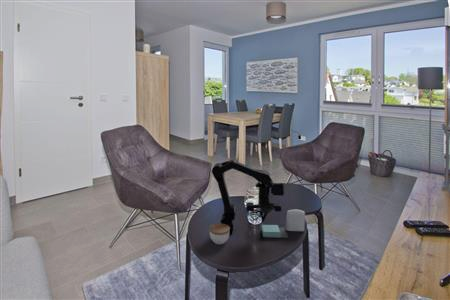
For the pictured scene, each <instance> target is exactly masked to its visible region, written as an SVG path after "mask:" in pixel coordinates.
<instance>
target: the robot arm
mask: <svg viewBox="0 0 450 300" xmlns="http://www.w3.org/2000/svg"><path fill="white" fill-rule="evenodd" d="M231 170H236V171H237V172H240V173H242V174H245V175H248V176H249V177H252V178H254V179H255V180H256V181H257V183H255V188H258V204H254V202H251V201H250V202H249V201H247V202H246V203H245V208H246V209H245V210H246V212H253V211H254V210H255V209H256V212H257V213H258V214H259V215H260V219H261V222H265V220H266V217H267V216H268V214H270V213H271V211H273V210H274V211H275V212H282V205H281V203H280V202H271V201H270V194H271V195H272V196H277V197H278V196H280V197H284V194H285V190H284V186H285V185H284V182H274V181H273V179H272V177H271V174H270V172H269V171H267V170H264V169H258V168H257V169H256V168H254V167H251V166H249V165H246V164H245V163H241V162H239V161H237V160H235V159H230V160H228V161H224V162H221V163H220V162H216V163H215V164H214V166H212V169H211V173H212V177H213V178H214V179H215V181H216V182H217V185H218V186H217V187H218V189H219V192H220V197H221V201H222V205H223V213H222V215H221V218H220V223H222V224H226V225H228V226H229V227H230V233H229V235H233V232H234V223H233V221H235V218H236V216H237V208H236V204H234V203H233V202H232V201H231V198H230V194H229V190H228V187H227V183H226V180H225V173H227V172H228V171H231Z"/></svg>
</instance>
